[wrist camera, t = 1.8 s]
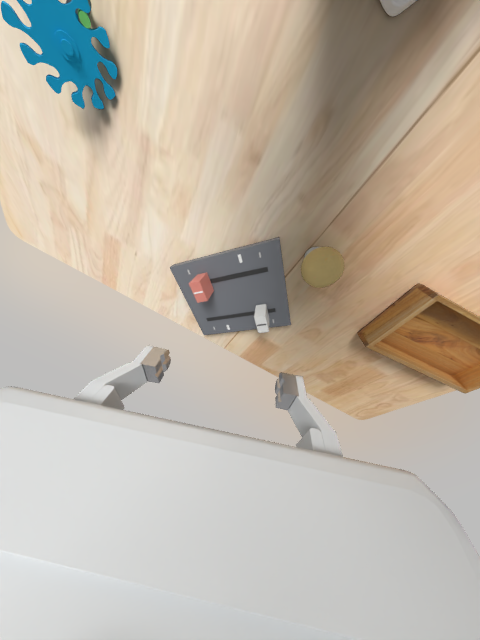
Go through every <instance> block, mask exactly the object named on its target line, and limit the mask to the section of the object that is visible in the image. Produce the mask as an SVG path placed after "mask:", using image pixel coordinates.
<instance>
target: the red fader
mask: <svg viewBox="0 0 480 640" xmlns="http://www.w3.org/2000/svg"><path fill="white" fill-rule="evenodd" d="M189 286H190V288H191V290H192V292H193V294H194V296H195V298H196V301H197V303H199V302H204V301H208V300H209V298H210V296H211V295H212V293H213V292H214V289H213V286H212V284H211V281H210V279H209V276H208V274H207V272H206V273H202V274H198V275H196V276H195V277H194V279H193V280H192V281H191V282H190V283H189Z"/></svg>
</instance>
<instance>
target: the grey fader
mask: <svg viewBox="0 0 480 640" xmlns="http://www.w3.org/2000/svg"><path fill="white" fill-rule="evenodd" d="M254 319H255V323H256V326H257V330H258V333H263V332H269V315H268V310H267V306H266V304H262V305H256V308H255V314H254Z"/></svg>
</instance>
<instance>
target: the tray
mask: <svg viewBox="0 0 480 640" xmlns="http://www.w3.org/2000/svg"><path fill="white" fill-rule="evenodd" d="M358 335H359V337H360V339H361V340H362V342H363V343H364V345H365V346H366V347H367V348H369V349H371V350H373V351H375V352H377V353H380V354H382V355H384V356H386V357H388V358H390V359H392V360H395V361H397V362H399V363H401V364H403V365H405V366H407V367H409V368H412V369H414V370H416V371H418V372H420V373H422V374H424V375H426V376H428V377H431V378H433V379H435V380H437V381H439V382H441V383H443V384H445V385H448V386H450V387H452V388H454V389H456V390H458V391H460V392H463V393H468V392H470V391H473V390H476V389H479V388H480V317H479V316H477V315H476V314H474V313H472V312H470V311H468V310H466V309H465V308H463V307H461V306H459V305H457V304H456V303H454V302H452V301H450V300H448V299H447V298H445V297H443V296H441V295H440V294H438V293H436V292H434V291H433V290H431V289H429V288H428V287H426V286H424V285H421V284H417V285H416V286H415V287H413V288H412V289H411V290H410V291H408V292H407V293H406V294H405V295H404V296H402V297H401V298H400V299H399V300H397V301H396V302H395V303H394V304H393V305H391V306H390V307H389V308H388V309H386V310H385V311H384V312H383V313H382V314H380V315H379V316H378V317H377V318H375V319H374V320H373V321H372V322H371V323H369V324H368V325H367V326H366V327H364V328H363V329H362V330H361V331H359V332H358Z"/></svg>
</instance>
